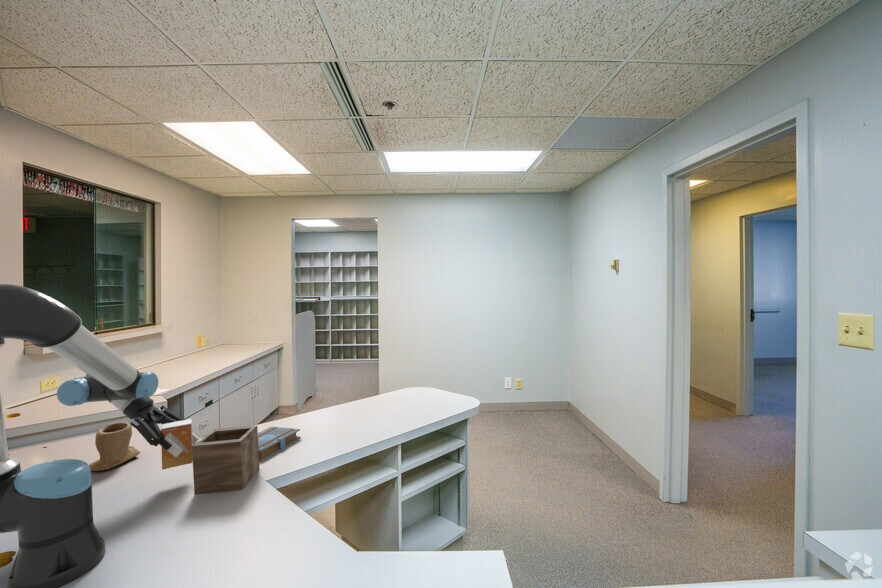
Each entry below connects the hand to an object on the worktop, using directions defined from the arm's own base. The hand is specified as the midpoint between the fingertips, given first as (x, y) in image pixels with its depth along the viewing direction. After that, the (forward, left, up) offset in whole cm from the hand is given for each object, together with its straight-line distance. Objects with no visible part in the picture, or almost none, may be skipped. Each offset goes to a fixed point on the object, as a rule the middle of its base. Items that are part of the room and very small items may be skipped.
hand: (188, 447), depth 120 cm
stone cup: (+21, +36, -12) cm, 43 cm away
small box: (0, +3, -5) cm, 6 cm away
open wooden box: (-2, -13, -11) cm, 17 cm away
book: (+24, -16, -12) cm, 31 cm away
